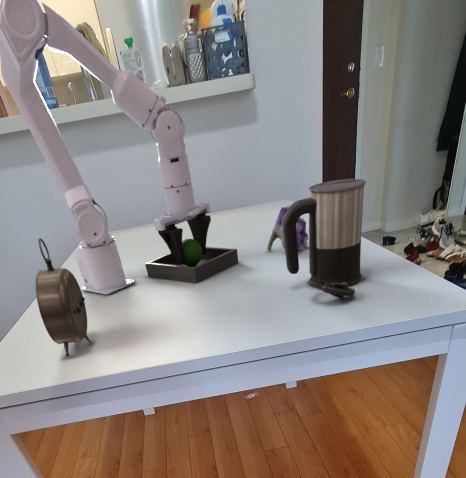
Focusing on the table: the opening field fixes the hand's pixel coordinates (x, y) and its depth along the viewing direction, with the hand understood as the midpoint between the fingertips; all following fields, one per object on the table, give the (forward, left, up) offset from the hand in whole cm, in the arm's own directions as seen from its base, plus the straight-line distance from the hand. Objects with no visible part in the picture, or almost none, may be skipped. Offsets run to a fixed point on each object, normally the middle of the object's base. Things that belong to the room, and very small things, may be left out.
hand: (190, 259), depth 100 cm
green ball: (0, 0, +1) cm, 1 cm away
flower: (+14, +17, -2) cm, 22 cm away
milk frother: (+37, -1, -2) cm, 37 cm away
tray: (0, 0, -2) cm, 2 cm away
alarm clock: (+10, -38, -2) cm, 39 cm away
